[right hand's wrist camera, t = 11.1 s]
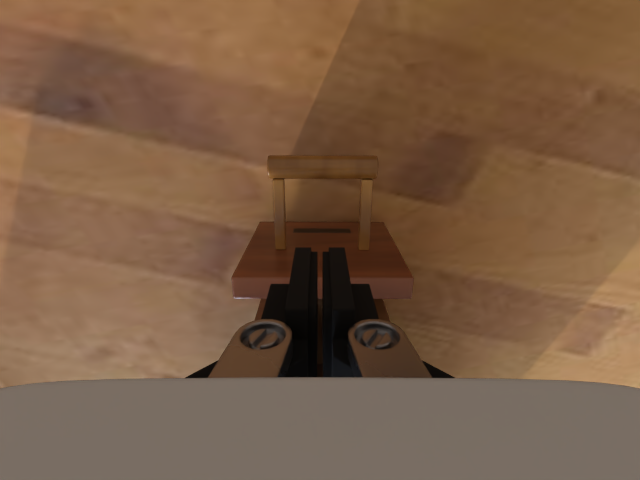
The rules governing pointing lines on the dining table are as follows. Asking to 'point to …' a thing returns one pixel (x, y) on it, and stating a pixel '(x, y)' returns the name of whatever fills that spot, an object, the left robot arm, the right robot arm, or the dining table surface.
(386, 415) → the right robot arm
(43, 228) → the dining table surface
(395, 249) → the drawer
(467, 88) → the dining table surface
